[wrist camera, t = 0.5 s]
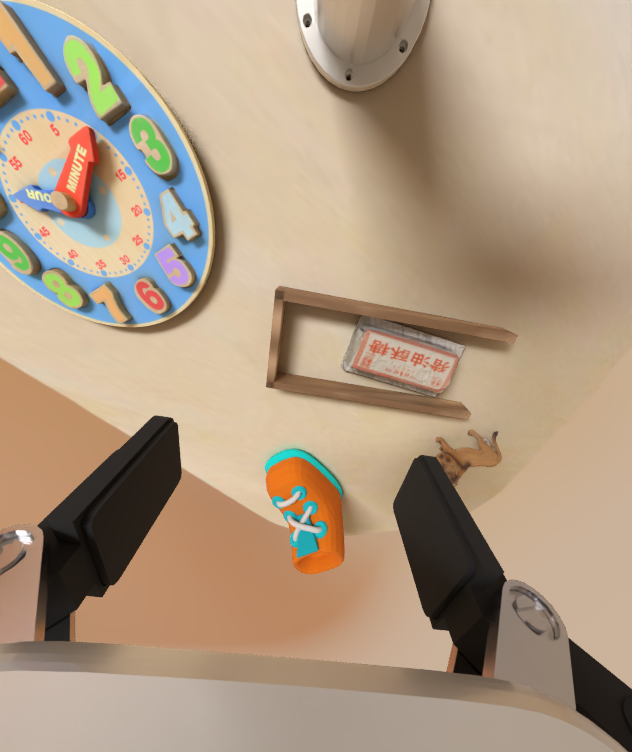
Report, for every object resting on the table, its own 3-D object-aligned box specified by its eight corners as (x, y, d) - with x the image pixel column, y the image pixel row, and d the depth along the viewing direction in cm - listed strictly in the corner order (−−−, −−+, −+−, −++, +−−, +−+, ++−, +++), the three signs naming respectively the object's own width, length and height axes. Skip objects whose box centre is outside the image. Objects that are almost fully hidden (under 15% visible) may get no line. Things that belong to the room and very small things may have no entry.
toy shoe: (300, 437, 50) (293, 507, 37) (350, 490, 57) (359, 564, 44) (255, 461, 53) (234, 533, 40) (308, 508, 61) (305, 582, 48)
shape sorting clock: (103, 351, 42) (72, 366, 36) (-98, 128, 29) (-193, 101, 23) (261, 273, 36) (251, 279, 30) (96, -57, 22) (27, -149, 17)
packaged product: (341, 379, 38) (366, 318, 34) (339, 365, 43) (361, 310, 38) (443, 408, 41) (480, 355, 36) (432, 392, 45) (463, 343, 40)
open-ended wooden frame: (279, 285, 36) (275, 289, 33) (502, 328, 38) (518, 335, 35) (269, 376, 43) (266, 387, 40) (458, 407, 46) (468, 419, 43)
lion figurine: (423, 459, 52) (442, 498, 44) (417, 442, 50) (436, 479, 42) (497, 438, 49) (531, 476, 41) (494, 419, 47) (530, 454, 39)
